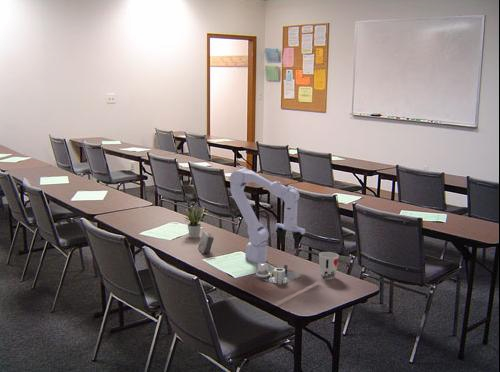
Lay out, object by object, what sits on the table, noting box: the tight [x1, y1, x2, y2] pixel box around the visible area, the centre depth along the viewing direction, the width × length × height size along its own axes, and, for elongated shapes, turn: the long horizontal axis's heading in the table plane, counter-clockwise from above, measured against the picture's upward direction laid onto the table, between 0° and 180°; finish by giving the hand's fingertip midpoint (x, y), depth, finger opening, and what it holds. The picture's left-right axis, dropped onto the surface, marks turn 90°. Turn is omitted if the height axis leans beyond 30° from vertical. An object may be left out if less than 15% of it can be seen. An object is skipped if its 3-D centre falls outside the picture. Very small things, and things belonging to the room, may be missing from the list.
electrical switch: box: [197, 230, 215, 255], centre depth 253 cm, size 9×5×9 cm, turn 18°
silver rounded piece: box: [255, 262, 270, 279], centre depth 219 cm, size 6×6×5 cm
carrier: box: [252, 264, 303, 286], centre depth 219 cm, size 15×15×4 cm
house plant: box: [182, 206, 209, 238], centre depth 277 cm, size 14×14×16 cm
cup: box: [318, 251, 339, 280], centre depth 222 cm, size 8×8×10 cm
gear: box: [271, 267, 288, 285], centre depth 213 cm, size 6×6×5 cm
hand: (289, 246), depth 231 cm, fingers open, 7 cm apart
